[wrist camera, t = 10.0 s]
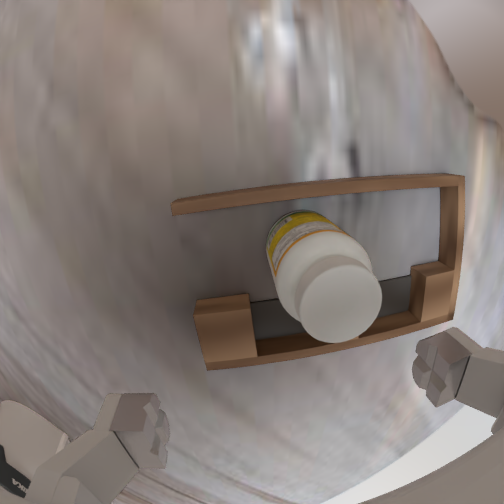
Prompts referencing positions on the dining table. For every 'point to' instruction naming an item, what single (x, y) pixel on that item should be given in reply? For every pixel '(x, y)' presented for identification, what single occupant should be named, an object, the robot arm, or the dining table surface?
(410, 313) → the frame
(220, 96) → the dining table surface
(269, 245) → the supplement bottle
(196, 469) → the dining table surface
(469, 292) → the dining table surface
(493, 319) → the dining table surface
